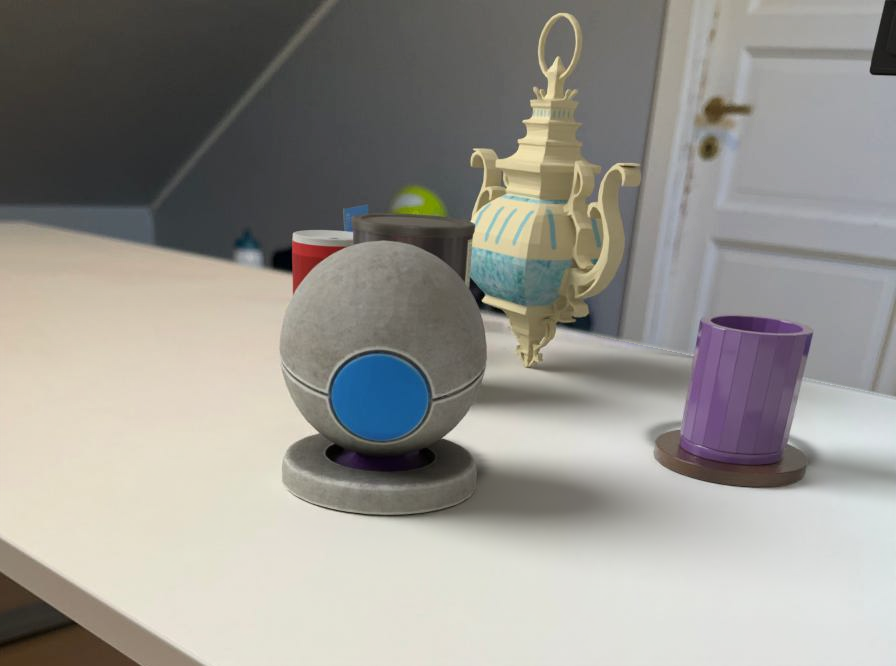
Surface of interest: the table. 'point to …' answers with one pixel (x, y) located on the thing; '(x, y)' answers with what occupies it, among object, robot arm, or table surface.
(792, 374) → the cup
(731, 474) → the coaster
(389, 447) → the webcam
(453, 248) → the coffee can
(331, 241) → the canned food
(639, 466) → the table surface
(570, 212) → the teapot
